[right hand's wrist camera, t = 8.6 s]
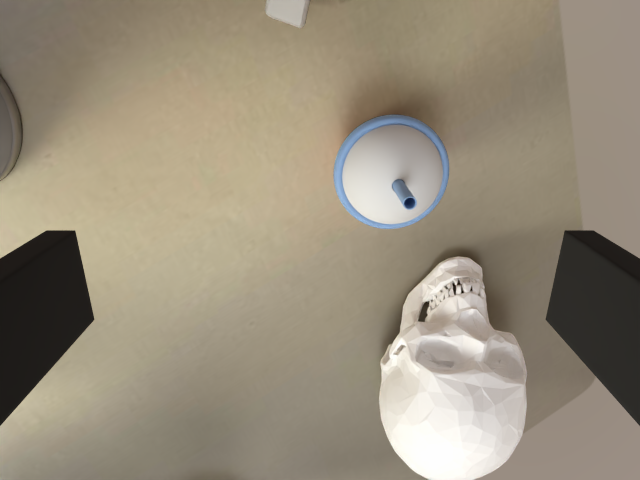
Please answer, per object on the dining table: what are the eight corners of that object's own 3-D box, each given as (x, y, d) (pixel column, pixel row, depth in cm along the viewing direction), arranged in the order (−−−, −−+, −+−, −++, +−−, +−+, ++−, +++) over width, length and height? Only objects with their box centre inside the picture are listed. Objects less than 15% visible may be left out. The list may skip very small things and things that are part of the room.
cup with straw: (424, 102, 43) (491, 127, 26) (419, 194, 46) (475, 267, 29) (330, 104, 43) (336, 130, 26) (331, 196, 46) (337, 270, 30)
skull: (513, 252, 48) (590, 333, 34) (473, 411, 57) (522, 532, 42) (391, 243, 49) (415, 320, 34) (369, 402, 57) (380, 521, 42)
